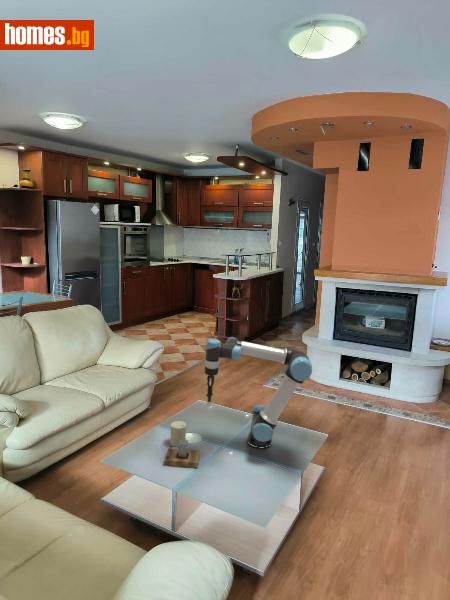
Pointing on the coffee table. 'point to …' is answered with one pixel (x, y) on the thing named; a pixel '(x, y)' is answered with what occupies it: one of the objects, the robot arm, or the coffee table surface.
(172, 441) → the can
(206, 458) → the coffee table surface
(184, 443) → the grey square block
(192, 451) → the jig
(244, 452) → the coffee table surface
